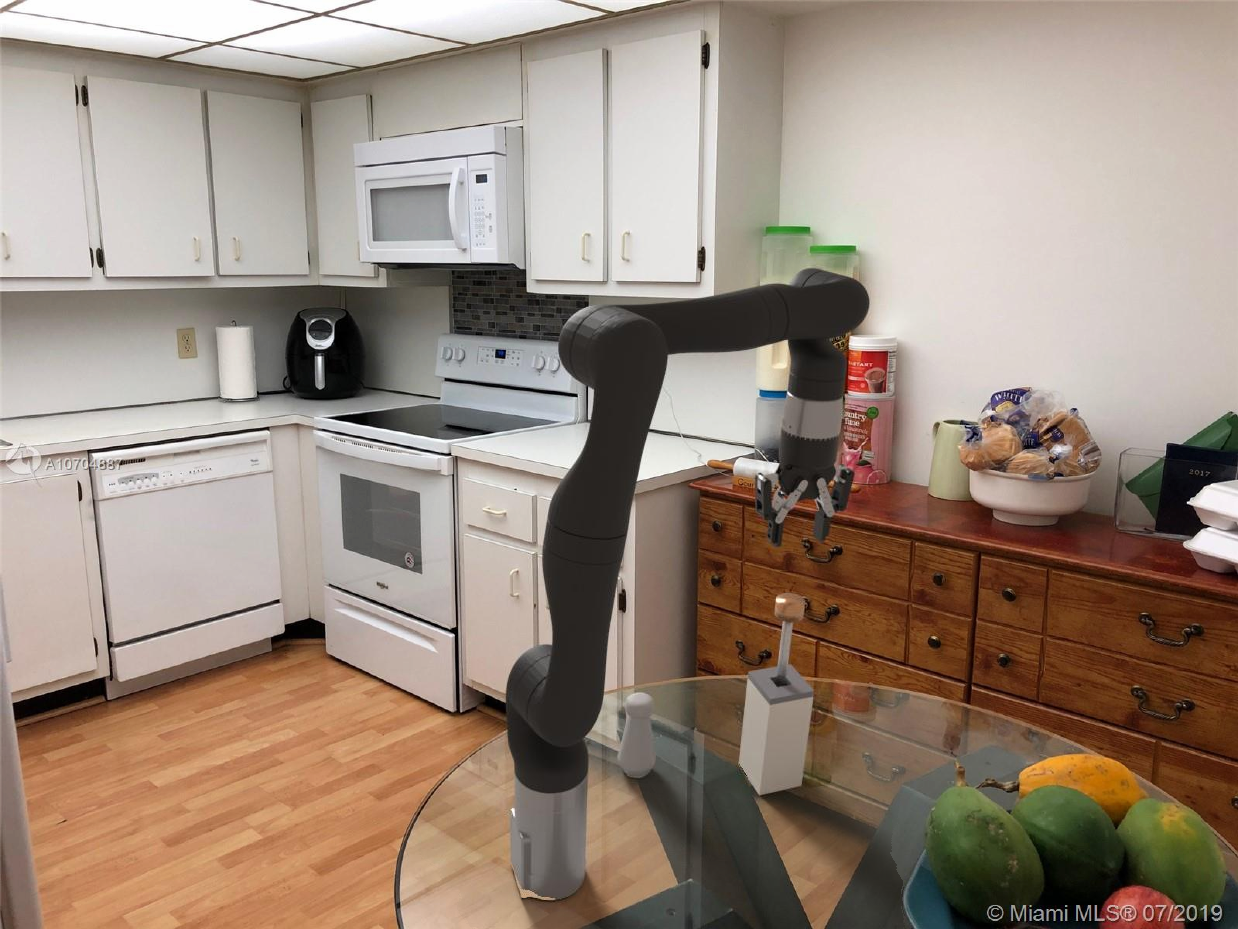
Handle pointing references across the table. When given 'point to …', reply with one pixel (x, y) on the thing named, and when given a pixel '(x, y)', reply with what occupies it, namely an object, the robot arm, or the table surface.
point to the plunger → (787, 628)
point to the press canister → (775, 730)
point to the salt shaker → (637, 736)
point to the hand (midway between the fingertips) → (797, 541)
